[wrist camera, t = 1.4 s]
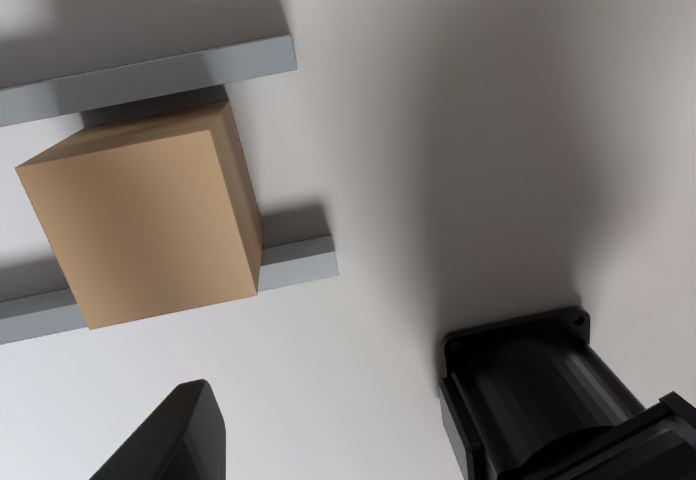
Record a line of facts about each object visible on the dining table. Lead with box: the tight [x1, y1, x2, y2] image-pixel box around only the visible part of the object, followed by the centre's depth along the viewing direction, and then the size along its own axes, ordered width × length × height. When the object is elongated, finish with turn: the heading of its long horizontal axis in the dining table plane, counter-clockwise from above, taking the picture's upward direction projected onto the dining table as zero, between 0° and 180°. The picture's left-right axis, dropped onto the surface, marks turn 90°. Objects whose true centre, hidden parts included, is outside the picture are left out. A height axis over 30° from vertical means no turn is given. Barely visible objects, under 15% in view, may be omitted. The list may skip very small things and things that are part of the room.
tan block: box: [15, 100, 264, 330], centre depth 16 cm, size 5×5×5 cm
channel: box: [0, 34, 339, 345], centre depth 18 cm, size 22×8×2 cm, turn 100°
